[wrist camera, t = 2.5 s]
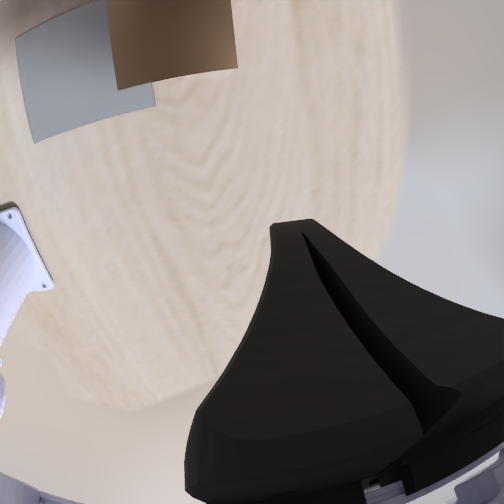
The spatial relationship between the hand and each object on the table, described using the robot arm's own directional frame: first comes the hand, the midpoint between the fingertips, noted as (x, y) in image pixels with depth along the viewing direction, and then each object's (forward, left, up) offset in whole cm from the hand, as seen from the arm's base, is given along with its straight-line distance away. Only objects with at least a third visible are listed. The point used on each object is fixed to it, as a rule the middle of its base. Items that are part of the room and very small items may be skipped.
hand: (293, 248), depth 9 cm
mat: (-10, +8, -10) cm, 16 cm away
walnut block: (-3, +8, -10) cm, 14 cm away
